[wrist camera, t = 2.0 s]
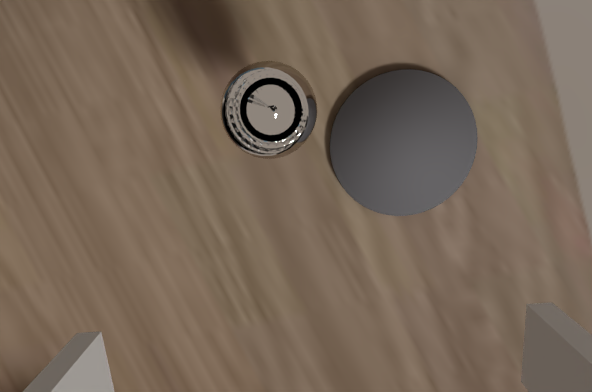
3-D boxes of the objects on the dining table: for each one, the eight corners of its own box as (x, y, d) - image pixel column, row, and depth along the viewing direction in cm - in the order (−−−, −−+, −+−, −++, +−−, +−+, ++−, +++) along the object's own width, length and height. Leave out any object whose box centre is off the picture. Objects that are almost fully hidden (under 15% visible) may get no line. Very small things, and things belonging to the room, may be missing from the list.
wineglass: (292, 154, 34) (288, 184, 22) (231, 122, 33) (193, 135, 22) (325, 92, 33) (339, 89, 21) (262, 57, 32) (240, 34, 20)
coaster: (324, 77, 32) (325, 76, 32) (475, 62, 32) (478, 62, 31) (334, 219, 35) (335, 221, 35) (473, 207, 35) (476, 209, 34)
